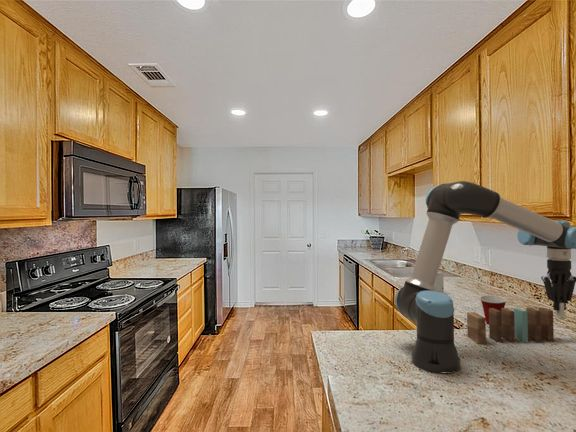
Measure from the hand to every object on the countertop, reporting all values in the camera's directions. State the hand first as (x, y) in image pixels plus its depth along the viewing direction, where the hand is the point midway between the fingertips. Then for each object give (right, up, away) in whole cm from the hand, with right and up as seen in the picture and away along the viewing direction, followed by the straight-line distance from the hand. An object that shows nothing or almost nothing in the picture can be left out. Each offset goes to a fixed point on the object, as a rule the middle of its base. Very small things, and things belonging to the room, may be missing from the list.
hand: (559, 318), depth 134 cm
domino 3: (-15, -9, 0) cm, 17 cm away
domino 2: (-20, -9, 0) cm, 22 cm away
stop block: (-33, -9, +1) cm, 34 cm away
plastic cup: (-14, -9, +20) cm, 26 cm away
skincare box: (-17, -9, +74) cm, 76 cm away
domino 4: (-10, -8, 0) cm, 13 cm away
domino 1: (-25, -9, 0) cm, 27 cm away
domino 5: (-5, -8, 0) cm, 10 cm away
